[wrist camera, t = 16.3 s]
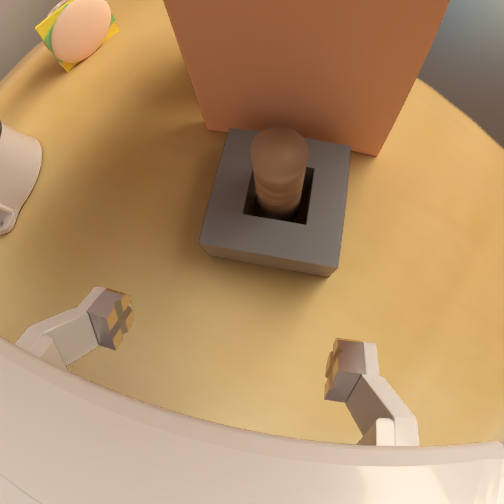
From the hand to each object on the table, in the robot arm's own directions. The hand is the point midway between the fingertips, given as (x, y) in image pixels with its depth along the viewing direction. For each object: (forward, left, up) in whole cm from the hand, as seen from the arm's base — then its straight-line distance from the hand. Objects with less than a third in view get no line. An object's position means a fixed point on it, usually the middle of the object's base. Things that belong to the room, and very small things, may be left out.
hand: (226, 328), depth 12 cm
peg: (+6, +10, -19) cm, 23 cm away
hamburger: (-13, +53, -19) cm, 58 cm away
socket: (+6, +10, -19) cm, 23 cm away
